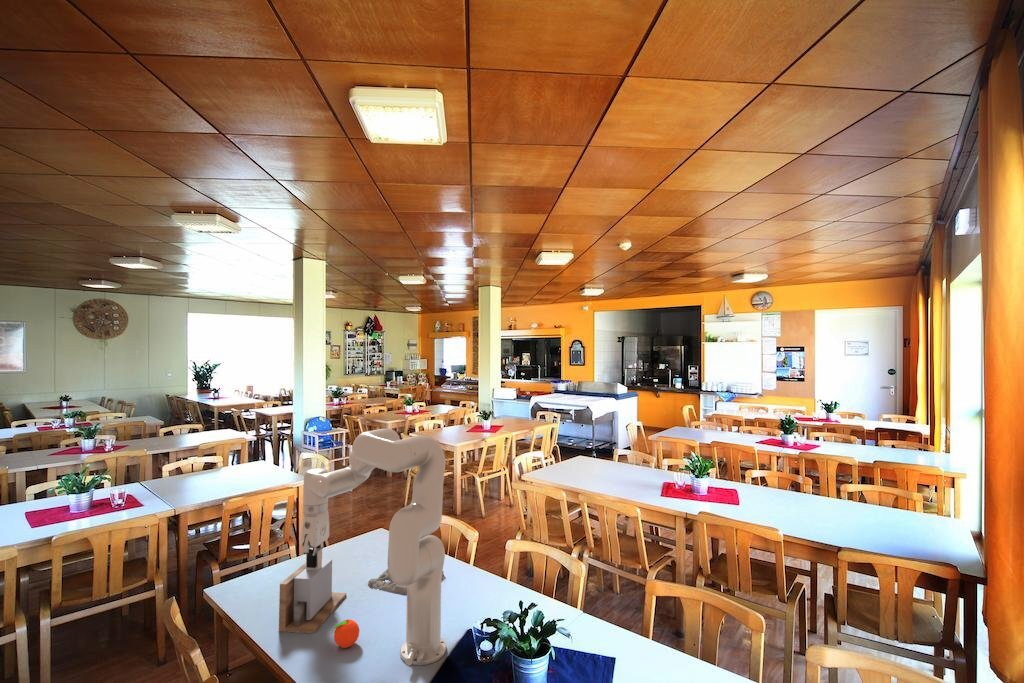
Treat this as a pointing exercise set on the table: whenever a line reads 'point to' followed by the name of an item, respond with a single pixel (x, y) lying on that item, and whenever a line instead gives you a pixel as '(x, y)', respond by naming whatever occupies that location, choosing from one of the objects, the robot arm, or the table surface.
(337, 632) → the clementine
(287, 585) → the wooden stand
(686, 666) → the table surface
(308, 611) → the white box with handle
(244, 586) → the table surface
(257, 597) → the table surface
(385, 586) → the wall plaque
